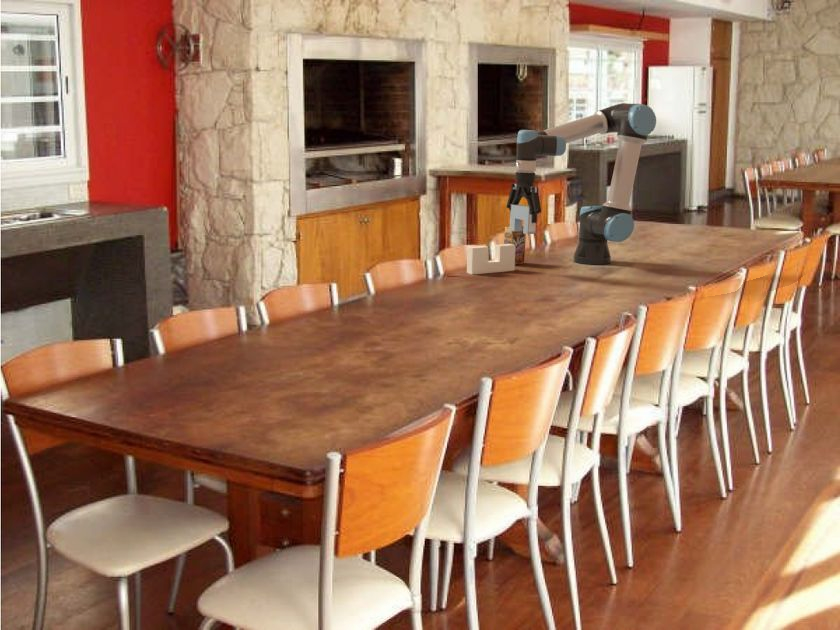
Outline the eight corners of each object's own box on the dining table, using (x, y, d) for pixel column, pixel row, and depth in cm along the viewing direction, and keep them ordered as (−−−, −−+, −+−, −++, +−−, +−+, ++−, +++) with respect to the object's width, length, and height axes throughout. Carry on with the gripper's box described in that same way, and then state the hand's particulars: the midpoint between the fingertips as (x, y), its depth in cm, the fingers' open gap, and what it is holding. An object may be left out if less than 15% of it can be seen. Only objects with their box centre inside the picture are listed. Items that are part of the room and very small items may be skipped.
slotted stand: (509, 269, 426) (510, 243, 424) (514, 270, 423) (515, 244, 421) (466, 272, 415) (467, 246, 413) (471, 274, 413) (472, 248, 410)
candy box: (510, 265, 433) (511, 227, 430) (502, 264, 436) (503, 226, 433) (525, 263, 440) (526, 225, 436) (517, 262, 443) (518, 224, 439)
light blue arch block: (509, 230, 419) (511, 204, 417) (517, 230, 421) (518, 204, 419) (527, 234, 410) (529, 207, 408) (534, 233, 412) (536, 207, 410)
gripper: (498, 169, 418) (496, 226, 423) (537, 174, 399) (533, 233, 403) (514, 168, 422) (511, 225, 427) (553, 174, 403) (549, 233, 407)
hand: (522, 229), depth 415 cm, fingers closed on light blue arch block, 11 cm apart
